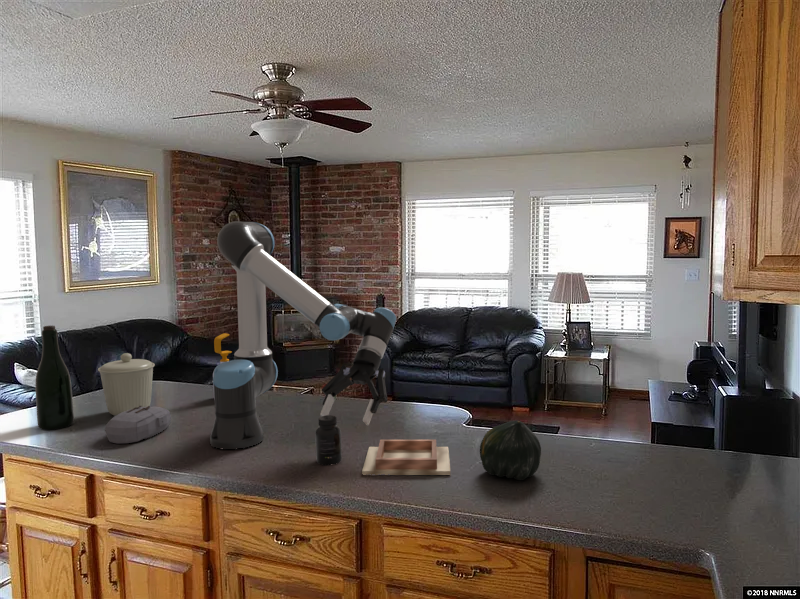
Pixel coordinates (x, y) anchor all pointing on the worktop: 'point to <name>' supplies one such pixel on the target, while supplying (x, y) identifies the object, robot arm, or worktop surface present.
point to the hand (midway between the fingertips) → (343, 420)
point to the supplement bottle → (328, 441)
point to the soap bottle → (218, 349)
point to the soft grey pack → (137, 424)
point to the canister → (127, 383)
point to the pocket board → (407, 458)
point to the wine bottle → (53, 386)
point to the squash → (510, 451)
